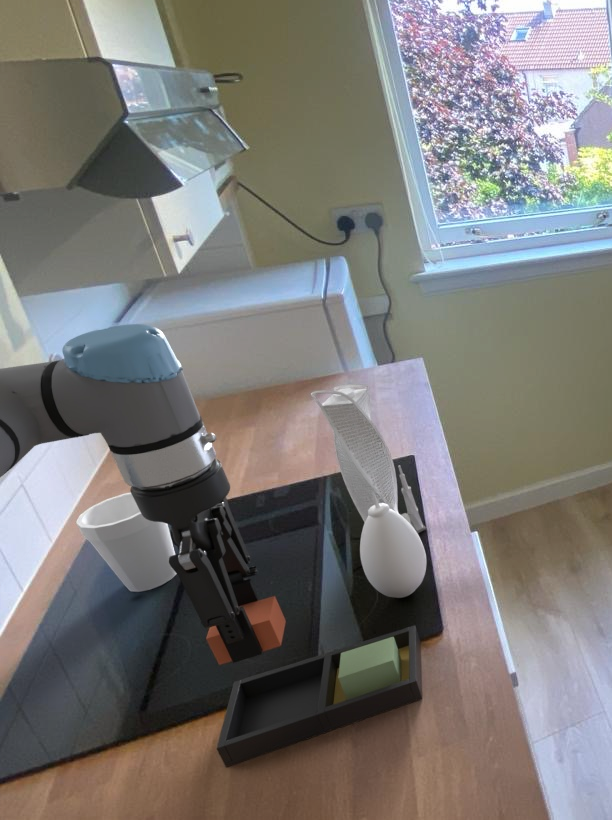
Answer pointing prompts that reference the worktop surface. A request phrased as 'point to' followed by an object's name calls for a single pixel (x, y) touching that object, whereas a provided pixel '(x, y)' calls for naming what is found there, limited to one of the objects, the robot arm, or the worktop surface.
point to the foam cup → (129, 542)
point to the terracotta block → (254, 628)
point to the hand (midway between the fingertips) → (251, 640)
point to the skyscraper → (364, 453)
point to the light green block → (370, 668)
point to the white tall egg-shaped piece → (391, 552)
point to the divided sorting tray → (310, 701)
